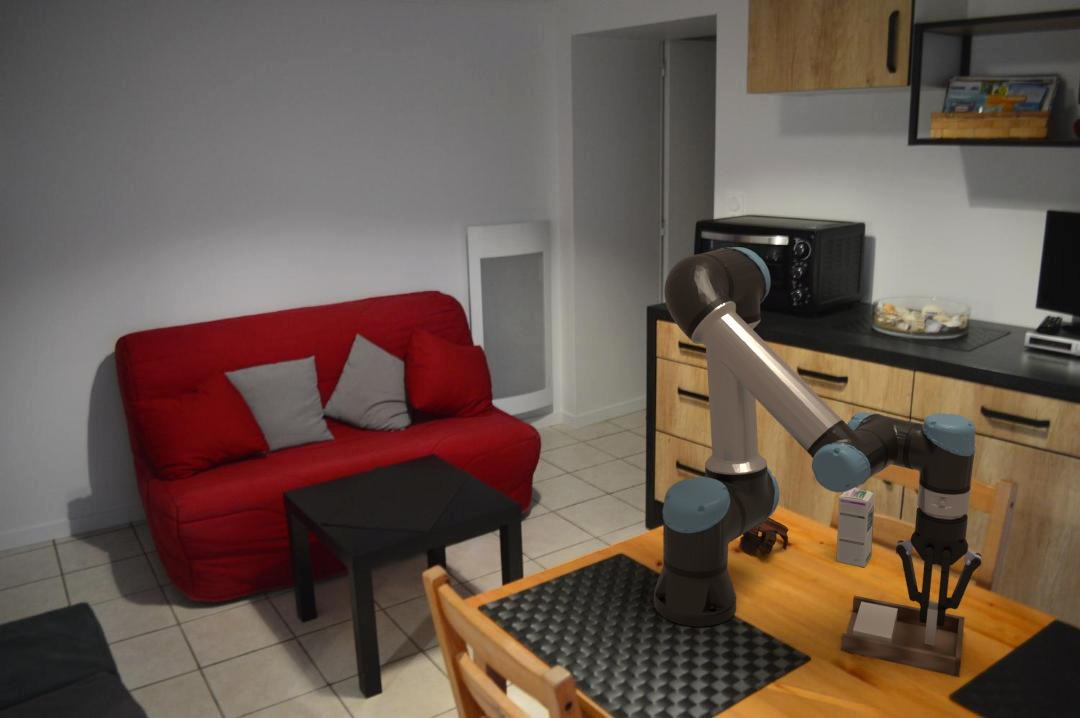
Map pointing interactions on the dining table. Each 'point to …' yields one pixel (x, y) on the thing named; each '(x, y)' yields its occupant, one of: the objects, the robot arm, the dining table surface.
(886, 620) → the light grey block
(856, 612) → the walnut box
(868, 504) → the syrup box
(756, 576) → the dining table surface
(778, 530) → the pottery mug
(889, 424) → the robot arm
